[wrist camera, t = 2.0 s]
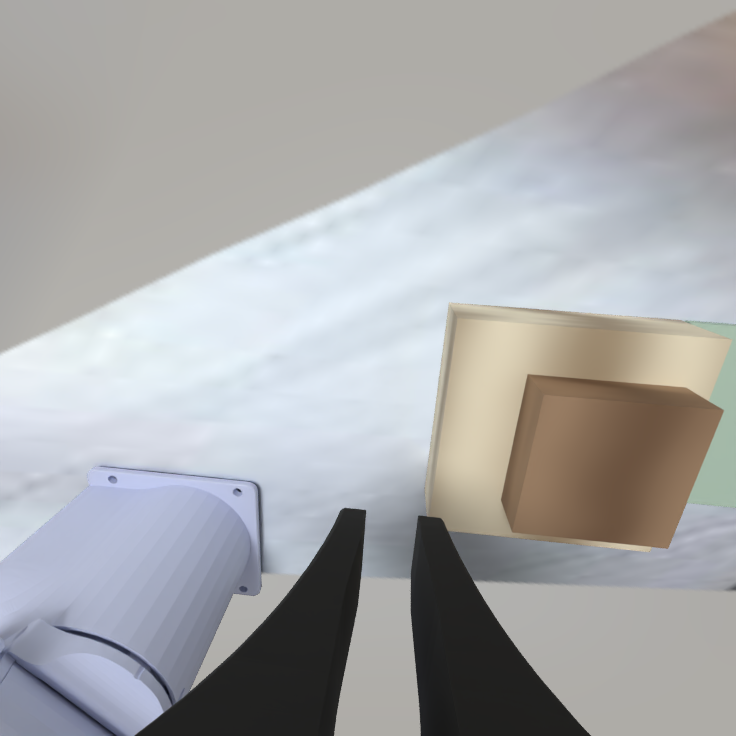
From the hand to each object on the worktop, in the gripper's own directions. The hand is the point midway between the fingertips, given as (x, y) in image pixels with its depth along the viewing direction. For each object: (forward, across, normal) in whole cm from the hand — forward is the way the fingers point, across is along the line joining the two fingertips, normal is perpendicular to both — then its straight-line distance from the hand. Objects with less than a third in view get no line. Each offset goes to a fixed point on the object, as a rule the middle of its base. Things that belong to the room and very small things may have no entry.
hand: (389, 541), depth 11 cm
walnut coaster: (+6, -8, 0) cm, 10 cm away
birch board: (+9, -7, 0) cm, 12 cm away
